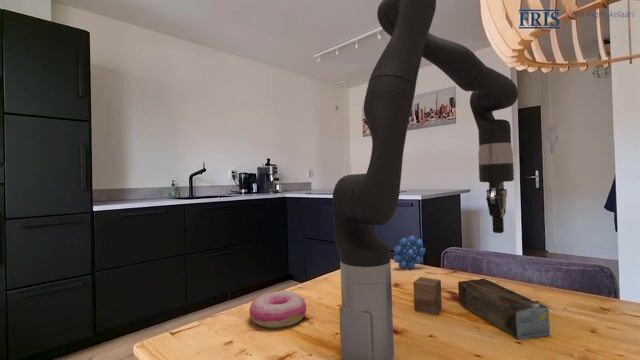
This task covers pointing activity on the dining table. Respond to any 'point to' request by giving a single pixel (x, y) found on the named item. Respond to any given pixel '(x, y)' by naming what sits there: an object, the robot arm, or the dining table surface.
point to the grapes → (409, 252)
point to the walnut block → (427, 295)
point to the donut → (277, 309)
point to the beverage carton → (505, 309)
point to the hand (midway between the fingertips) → (498, 232)
